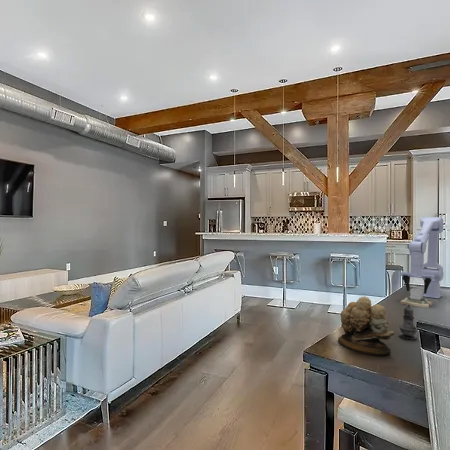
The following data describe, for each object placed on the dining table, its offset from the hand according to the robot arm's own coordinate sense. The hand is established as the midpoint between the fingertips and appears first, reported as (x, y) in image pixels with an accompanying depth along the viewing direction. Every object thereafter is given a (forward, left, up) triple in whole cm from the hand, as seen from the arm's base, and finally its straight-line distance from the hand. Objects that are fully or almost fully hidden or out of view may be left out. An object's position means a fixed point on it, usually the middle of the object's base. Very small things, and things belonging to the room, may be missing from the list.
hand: (416, 291), depth 164 cm
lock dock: (0, 0, -6) cm, 6 cm away
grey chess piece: (+56, +10, -6) cm, 57 cm away
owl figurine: (+76, +2, -6) cm, 76 cm away
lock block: (0, 0, -5) cm, 5 cm away
